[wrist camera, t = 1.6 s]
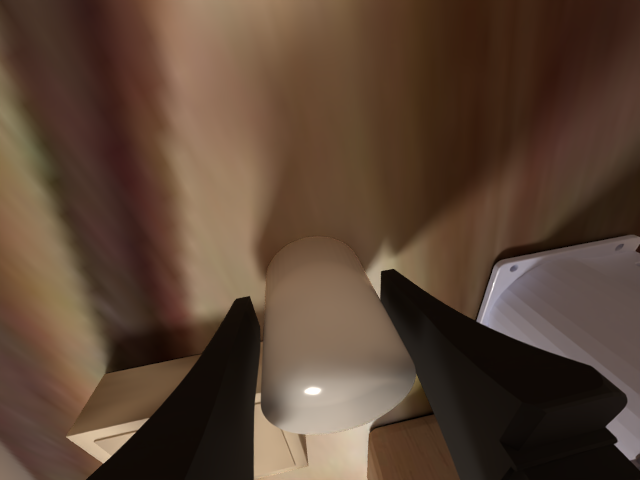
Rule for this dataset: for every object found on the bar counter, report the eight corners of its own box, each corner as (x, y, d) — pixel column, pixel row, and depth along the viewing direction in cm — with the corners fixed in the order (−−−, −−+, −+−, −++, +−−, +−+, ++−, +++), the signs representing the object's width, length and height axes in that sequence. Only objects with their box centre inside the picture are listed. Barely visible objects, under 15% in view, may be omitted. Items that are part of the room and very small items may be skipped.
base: (281, 337, 15) (282, 389, 12) (303, 418, 20) (308, 467, 17) (104, 374, 14) (64, 438, 11) (175, 449, 19) (159, 505, 16)
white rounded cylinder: (359, 228, 12) (424, 325, 7) (360, 302, 14) (409, 414, 9) (255, 245, 11) (241, 364, 6) (276, 319, 14) (277, 447, 9)
